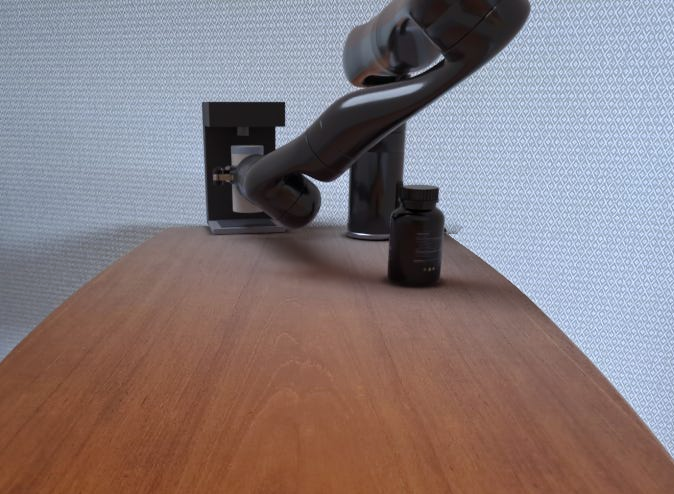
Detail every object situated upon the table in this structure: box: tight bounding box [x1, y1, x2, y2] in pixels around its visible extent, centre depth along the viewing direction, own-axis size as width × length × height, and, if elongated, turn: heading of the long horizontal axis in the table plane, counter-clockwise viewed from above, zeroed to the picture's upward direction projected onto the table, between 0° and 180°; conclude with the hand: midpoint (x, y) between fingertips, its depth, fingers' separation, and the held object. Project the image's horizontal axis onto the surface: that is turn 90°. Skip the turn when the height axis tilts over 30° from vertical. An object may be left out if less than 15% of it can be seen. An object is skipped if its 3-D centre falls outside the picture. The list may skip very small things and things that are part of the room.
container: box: [231, 145, 263, 213], centre depth 118 cm, size 6×6×11 cm
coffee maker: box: [201, 101, 286, 235], centre depth 123 cm, size 13×13×22 cm
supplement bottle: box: [386, 184, 446, 288], centre depth 86 cm, size 7×7×12 cm
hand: (245, 171), depth 120 cm, fingers closed on container, 5 cm apart
